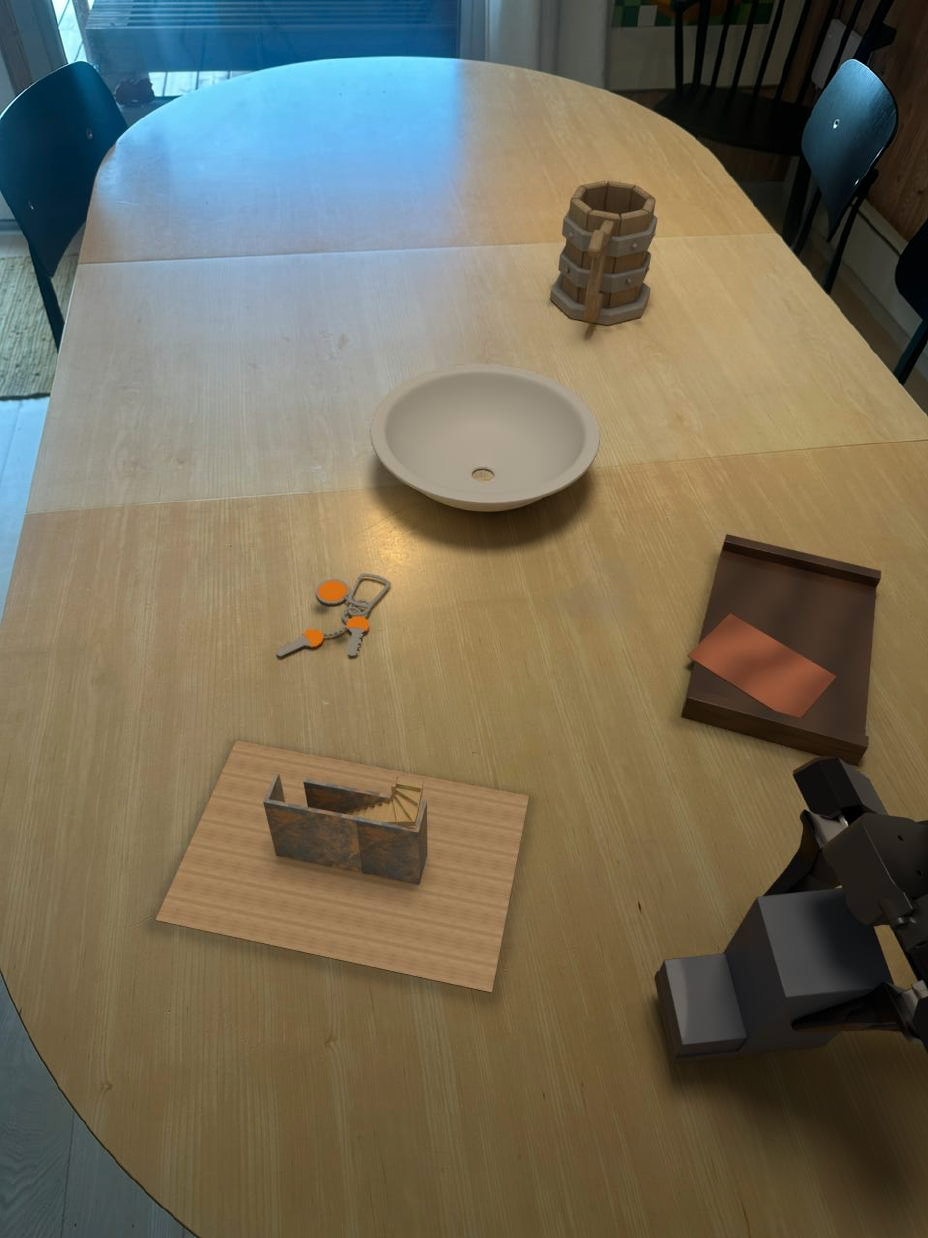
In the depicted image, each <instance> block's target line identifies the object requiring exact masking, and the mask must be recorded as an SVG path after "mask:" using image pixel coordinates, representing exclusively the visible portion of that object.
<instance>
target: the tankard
mask: <svg viewBox="0 0 928 1238" xmlns="http://www.w3.org/2000/svg"><path fill="white" fill-rule="evenodd" d="M656 202H657V199H656V197H654V196H653V195H652V194H650V193H649V192H647V191H646V190H645V189H644V188H642V187H641V186H639V185H636V184H634V183H627V182H621V181H615V180H609V179H608V180H607V181H606V179H605V180H600V181H595V182H589V183H584V184H581V185H579V186H578V187H577V188H576V190H575V191H574V193H573V194H572V197H570V201H569V209H568V210H567V212H566V214H565V215H564V217H563V220H562V229H561V230H562V231H561V236H563V237H564V239H566V240H565V245H564V247H563V248H562V251H561V252H560V254H559V259H558V271H559V272H560V273H559V275H558V276H557V278H556V280H555V282H554V284H553V285H552V287H551V289H550V295H549V296H550V297H549V299H550V300H551V301H552V302H553V303H554V304H555V305H556V306H557V307H558V308H559V309H560V310H561V311H562V312H563V313H564V314H566V316H567V317H569V318H570V319H572V320H577V321H583V322H586V323H593V324H599V325H603V326H610V325H615V324H619V323H622V322H627V321H630V320H634V319H639V318H642V316H643V313H644V311H645V309H646V306H647V304H648V301H649V299H650V296H651V295H650V294H651V289H652V288H651V287H649V286H648V285H647V283H645V282H644V281H645V279H646V278H647V275H648V272H649V271H650V264H651V259H652V252H650V251H649V248H650V246H651V243H652V241H653V239H654V237H656V229H657V225H658V216H656V215H655V207H656Z"/></svg>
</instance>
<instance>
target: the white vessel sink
mask: <svg viewBox="0 0 928 1238" xmlns="http://www.w3.org/2000/svg"><path fill="white" fill-rule="evenodd" d="M369 427H370V428H369V436H370V441H371V445H372V448H373V450H374V453H375V455H376V457H377V458H378V460H379V461H380V463H381V464H382V465H383V467H384V468H385V469H386V470H387V471H388V472H389V473H390V474H391V475H393V477H395V478H396V479H398V480H399V481H401V483H403V484H405V485H407V486H409V487H410V488H412V489H414V490H416V491H418V492H420V493H421V494H423V495H425V496H426V497H428V498H430V499H432V500H434V501H436V502H438V503H441V504H443V505H446V506H449V507H453V508H455V509H460V510H465V511H471V512H487V513H490V512H501V511H502V512H503V511H509V510H514V509H519V508H521V507H524V506H528V505H530V504H534V503H535V502H538V501H540V500H542V499H544V498H546V497H549V496H552V495H554V494H556V493H558V492H560V491H562V490H564V489H566V488H568V487H570V486H571V485H572V484H574V483H575V482H577V481H578V480H579V479H580V478H581V477H582V476H583V475H584V474H586V472H587V471H588V470H589V469H590V467H591V465H593V462H594V461H595V459H596V458H597V455H598V452H599V449H600V445H601V444H600V443H601V433H600V426H599V424H598V420H597V418H596V416H595V414H594V412H593V410H592V409H591V408H590V406H589V405H588V404H587V402H586V401H585V400H584V399H583V398H581V396H579V395H578V394H577V393H576V392H574V391H573V390H572V389H571V388H569V387H567V386H566V385H564V384H563V383H561V382H559V381H557V380H556V379H553V378H551V377H549V376H547V375H544V374H541V373H538V372H535V371H532V370H529V369H525V368H520V367H515V366H509V365H504V364H493V363H465V364H456V365H449V366H444V367H440V368H436V369H432V370H428V371H426V372H423V373H419V374H417V375H415V376H413V377H411V378H408V379H407V380H405V381H403V382H401V383H400V384H399V385H397V386H396V387H394V388H393V389H391V391H389V392H388V393H387V394H386V395H385V396H384V397H383V398H382V399H381V401H380V402H379V403H378V405H377V406H376V408H375V410H374V412H373V414H372V418H371V422H370V426H369ZM477 470H487V471H490V472H491V473H492V474H493V477H492V478H491V479H489V480H486V481H485V480H483V481H482V480H477V479H476V478H474V477H473V473H474V472H475V471H477Z"/></svg>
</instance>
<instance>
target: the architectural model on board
mask: <svg viewBox="0 0 928 1238" xmlns="http://www.w3.org/2000/svg"><path fill="white" fill-rule="evenodd" d="M529 798H530V795H527V794H522V793H516V792H511V791H506V790H501V789H496V788H490V787H485V786H481V785H475V784H471V783H470V784H469V783H464V782H459V781H453V780H447V779H443V778H438V777H433V776H426V775H422V774H416V773H411V772H405V771H400V770H396V769H391V768H384V767H381V766H380V767H379V766H375V765H370V764H363V763H358V762H353V761H347V760H342V759H337V758H332V757H326V756H323V755H322V756H321V755H316V754H311V753H305V752H301V751H295V750H289V749H284V748H279V747H274V746H269V745H264V744H263V745H262V744H259V743H254V742H253V743H252V742H247V741H242V740H235V742H234V744H233V747H232V748H231V751H230V753H229V755H228V758H227V759H226V762H225V764H224V767H223V769H222V771H221V773H220V776H219V778H218V779H217V782H216V784H215V787H214V789H213V791H212V793H211V796H210V797H209V801H208V802H207V804H206V807H205V809H204V811H203V813H202V815H201V818H200V819H199V822H198V823H197V827H196V828H195V831H194V833H193V836H192V838H191V840H190V842H189V845H188V847H187V848H186V851H185V853H184V856H183V858H182V860H181V863H180V864H179V867H178V869H177V871H176V873H175V876H174V878H173V880H172V882H171V885H170V886H169V889H168V891H167V893H166V895H165V898H164V900H163V902H162V904H161V906H160V909H159V911H158V912H157V915H156V918H155V921H159V922H164V923H167V924H172V925H176V926H177V925H178V926H182V927H185V928H186V927H187V928H190V929H196V930H200V931H204V932H209V933H214V934H217V935H218V934H219V935H224V936H227V937H233V938H237V939H242V940H247V941H250V942H251V941H252V942H256V943H261V944H266V945H271V946H275V947H278V948H279V947H280V948H284V949H288V950H293V951H296V952H297V951H298V952H303V953H307V954H312V955H317V956H321V957H326V958H330V959H334V960H340V961H344V962H348V963H353V964H357V965H363V966H367V967H372V968H377V969H381V970H386V971H390V972H396V973H400V974H405V975H410V976H413V977H419V978H424V979H428V980H432V981H437V982H441V983H446V984H451V985H456V986H461V987H465V988H470V989H475V990H480V991H483V992H484V991H485V992H487V993H493V991H494V990H493V989H494V984H495V980H496V973H497V969H498V962H499V958H500V954H501V953H500V952H501V947H502V941H503V936H504V931H505V925H506V920H507V917H508V910H509V904H510V899H511V895H512V889H513V884H514V878H515V873H516V867H517V862H518V857H519V851H520V847H521V842H522V836H523V830H524V825H525V819H526V814H527V809H528V803H529Z"/></svg>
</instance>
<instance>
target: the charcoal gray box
mask: <svg viewBox="0 0 928 1238" xmlns="http://www.w3.org/2000/svg"><path fill="white" fill-rule="evenodd" d="M845 898H846V895H845V892H844V890H843V888H842V887H836V888H834V889H825V890H816V891H806V892H797V893H788V894H778V895H769V896H763V895H760V896H756V897H755V899H754V901H753V902H752V904H751V906H750V907H749V909H748V910H747V913H746V914H745V916H744V917H743V919H742V921H741V922H740V924H739V926H738V927H737V929H736V930H735V932H734V934H733V936H732V937H731V939H730V941H729V942H728V944H727V945H726V947H725V949H724V950H723V952H722V953H721V952H720V953H714V954H712V953H711V954H705V955H704V954H703V955H696V956H686V957H678V958H677V957H676V958H669V959H668V958H667V959H663V961H662V964H661V966H660V967H659V969H658V970H656V972H655V975H654V976H653V980H654V984H655V988H656V989H655V990H656V994H657V997H658V998H657V999H658V1003H659V1008H660V1013H661V1018H662V1022H663V1026H664V1031H665V1036H666V1039H667V1040H666V1041H667V1046H668V1050H669V1055H670V1059H671V1063H672V1065H673V1066H676V1065H685V1064H692V1063H702V1062H710V1061H719V1060H727V1059H736V1058H737V1059H738V1058H746V1057H754V1056H763V1055H771V1054H780V1053H788V1052H789V1053H791V1052H799V1051H809V1050H816V1049H823V1048H825V1047H826V1046H827V1045H828V1044H829V1043H830V1042H832V1041H833V1040H834V1039H835V1038H836V1037H837V1036H838V1035H840V1034H841V1033H842V1032H843V1031H838V1032H805V1033H801V1032H796V1031H793V1029H792V1027H791V1023H793V1022H794V1021H796V1020H798V1019H800V1018H802V1017H804V1016H806V1015H809V1014H812V1013H815V1012H818V1011H821V1010H823V1009H826V1008H829V1007H832V1006H835V1005H838V1004H841V1003H844V1002H847V1001H850V1000H853V999H856V998H858V997H861V996H864V995H867V994H869V993H870V992H871V991H873V990H874V989H875V988H876V987H877V986H878V985H880V984H881V983H882V982H884V981H886V982H888V983H891V984H893V985H895V982H894V979H893V977H892V974H891V971H890V968H889V965H888V963H887V960H886V957H885V956H886V955H885V954H884V951H883V948H882V945H881V943H880V940H879V938H878V934H877V931H876V928H875V927H874V926H868V925H865V924H863V923H861V922H860V921H859V920H857V919H856V918H855V917H854V915H853V914H852V913H851V911H850V910H849V908H848V906H847V904H846V901H845Z"/></svg>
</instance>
